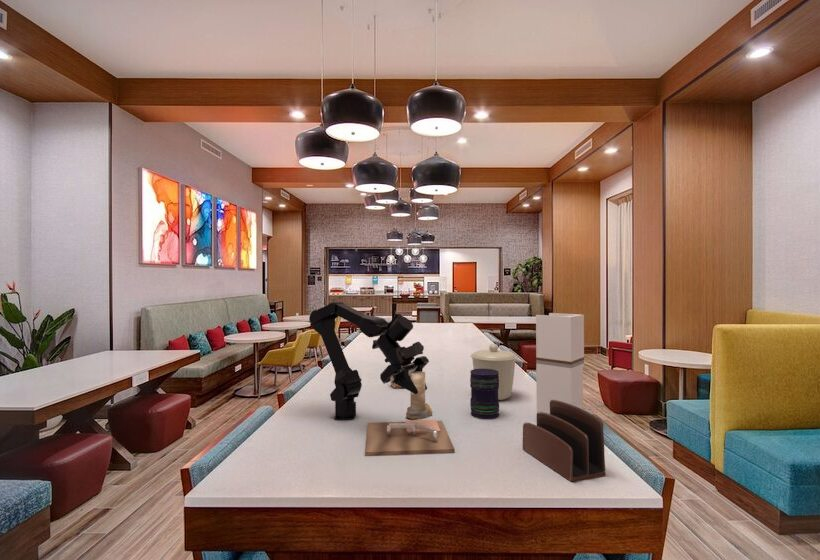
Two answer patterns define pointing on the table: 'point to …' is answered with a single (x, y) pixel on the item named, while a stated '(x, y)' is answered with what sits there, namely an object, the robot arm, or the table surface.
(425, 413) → the peg
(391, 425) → the bent metal bar
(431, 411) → the pastry
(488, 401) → the storage jar
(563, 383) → the grooved white pillar
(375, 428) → the board
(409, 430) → the pad
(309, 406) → the table surface
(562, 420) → the letter holder
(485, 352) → the canister
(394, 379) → the robot arm
